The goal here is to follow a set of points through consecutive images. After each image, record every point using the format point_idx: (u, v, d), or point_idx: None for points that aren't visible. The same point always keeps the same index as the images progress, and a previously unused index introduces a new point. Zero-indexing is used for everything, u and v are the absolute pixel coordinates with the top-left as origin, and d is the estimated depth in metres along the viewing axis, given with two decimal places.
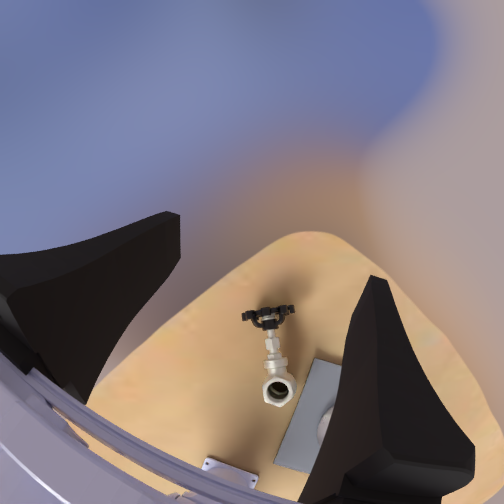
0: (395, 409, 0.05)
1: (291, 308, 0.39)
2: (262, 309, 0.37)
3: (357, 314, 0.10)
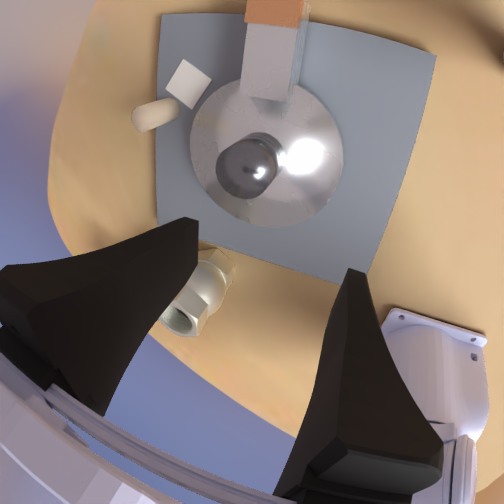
0: (357, 399, 0.05)
1: None
2: None
3: (335, 307, 0.10)
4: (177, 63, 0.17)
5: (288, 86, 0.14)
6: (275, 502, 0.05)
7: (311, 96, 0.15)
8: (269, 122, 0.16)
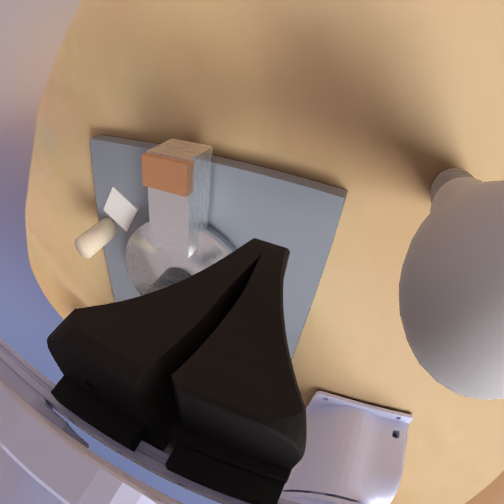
0: (218, 353, 0.06)
1: None
2: None
3: None
4: (109, 189, 0.20)
5: (189, 244, 0.16)
6: (155, 454, 0.06)
7: (215, 245, 0.17)
8: (183, 261, 0.19)
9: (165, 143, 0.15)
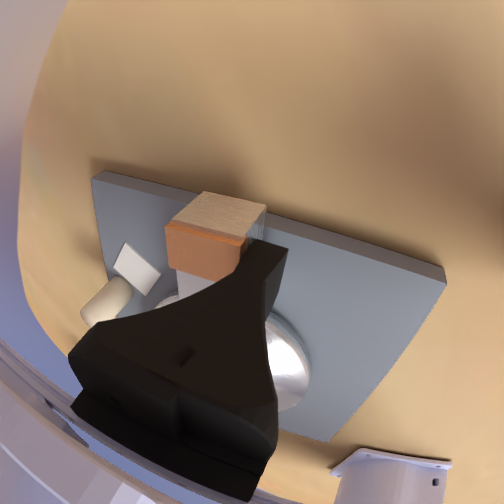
0: (194, 343, 0.06)
1: None
2: None
3: None
4: (120, 245, 0.15)
5: None
6: None
7: (269, 331, 0.13)
8: None
9: (196, 202, 0.11)
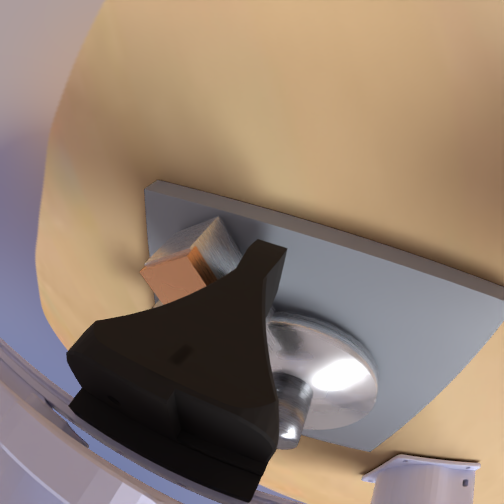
0: (195, 343, 0.06)
1: None
2: None
3: None
4: None
5: None
6: None
7: (293, 330, 0.12)
8: (271, 364, 0.14)
9: (165, 243, 0.12)
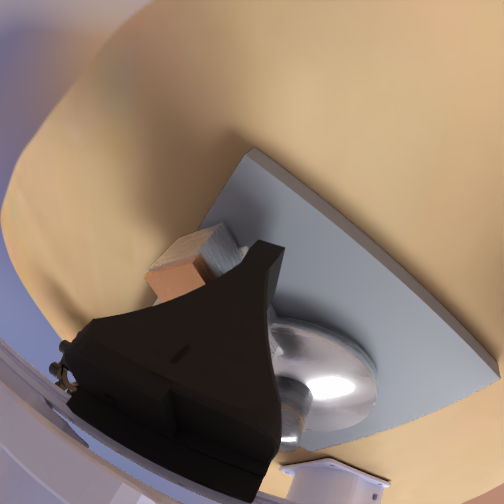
0: (197, 344, 0.06)
1: (62, 350, 0.21)
2: None
3: None
4: None
5: None
6: None
7: (295, 335, 0.12)
8: (273, 367, 0.14)
9: (169, 248, 0.12)
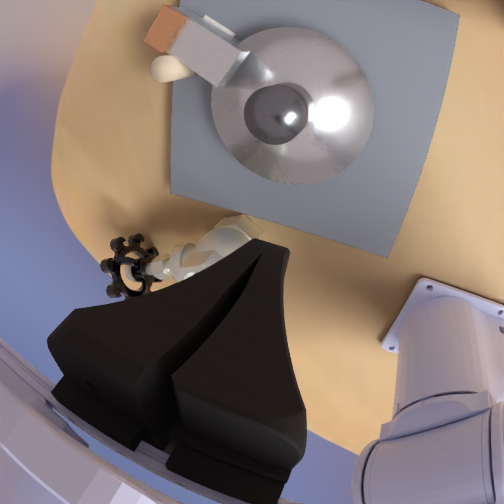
0: (218, 353, 0.06)
1: (113, 245, 0.25)
2: None
3: None
4: None
5: (229, 43, 0.14)
6: (154, 454, 0.06)
7: (254, 34, 0.14)
8: (261, 81, 0.15)
9: None
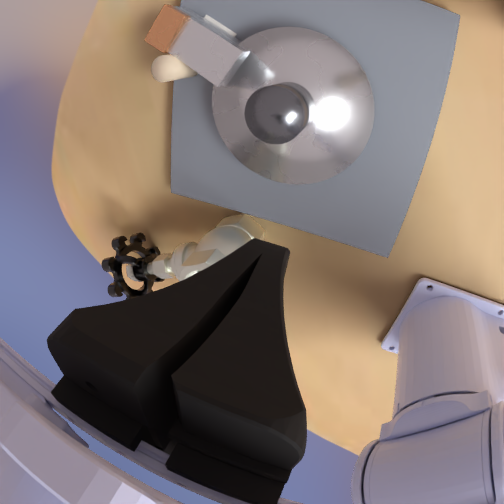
0: (218, 353, 0.06)
1: (114, 244, 0.25)
2: (112, 296, 0.24)
3: None
4: None
5: (230, 43, 0.14)
6: (154, 453, 0.06)
7: (255, 34, 0.14)
8: (261, 80, 0.15)
9: None
